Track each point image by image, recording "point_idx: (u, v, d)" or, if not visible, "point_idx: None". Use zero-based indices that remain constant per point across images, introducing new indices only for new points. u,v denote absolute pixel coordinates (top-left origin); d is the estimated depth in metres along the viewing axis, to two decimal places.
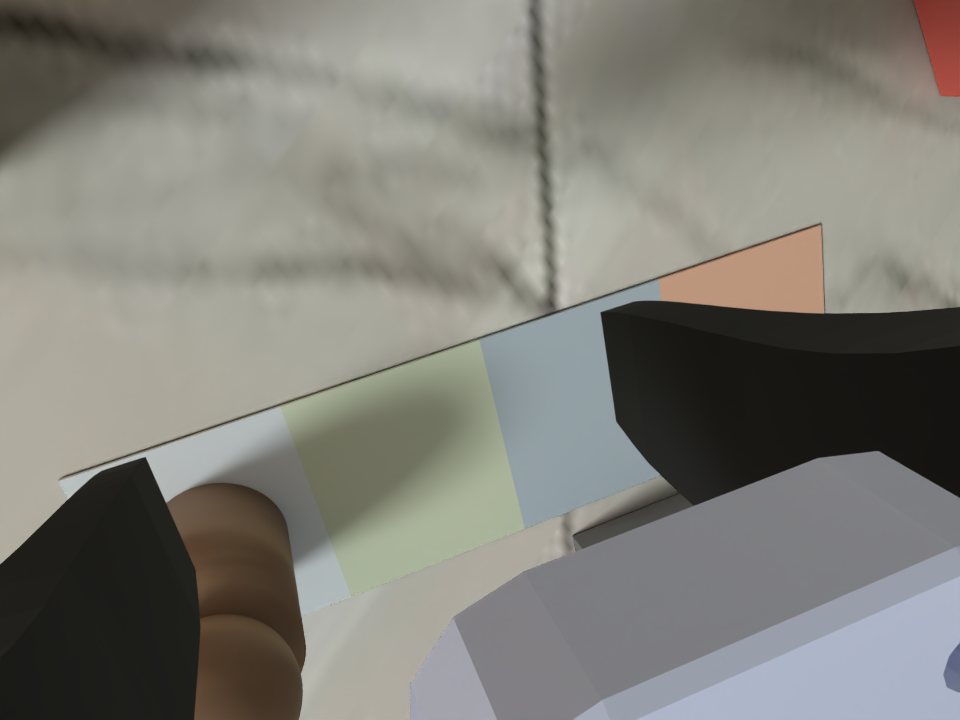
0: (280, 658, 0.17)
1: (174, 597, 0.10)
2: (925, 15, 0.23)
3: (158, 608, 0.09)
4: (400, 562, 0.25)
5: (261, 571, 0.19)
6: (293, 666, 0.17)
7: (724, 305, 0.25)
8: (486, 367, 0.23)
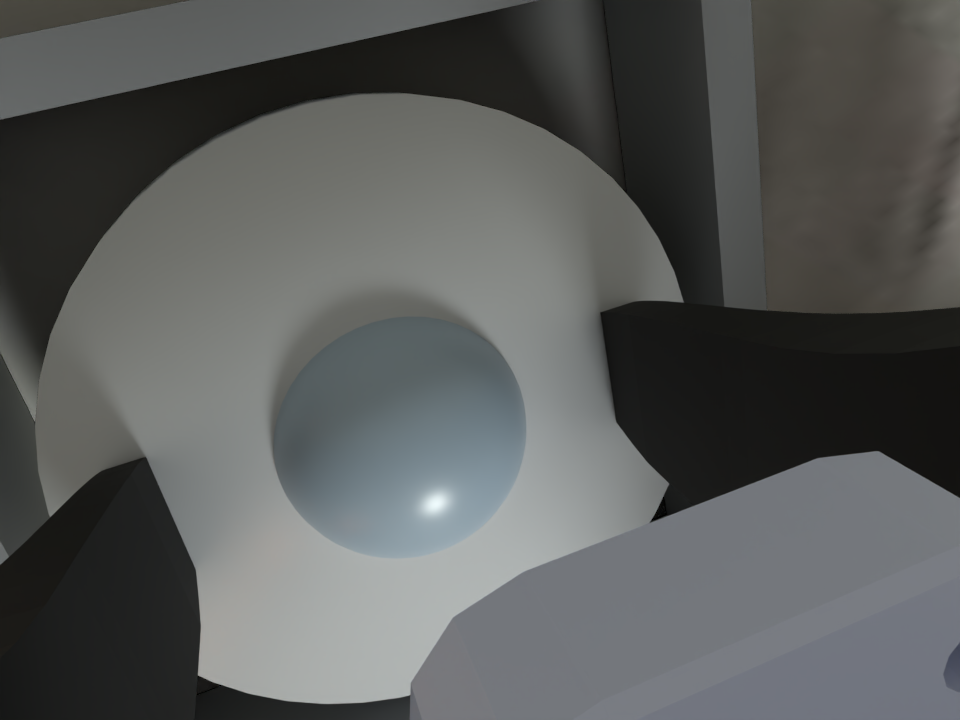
0: None
1: (174, 598, 0.10)
2: None
3: (158, 609, 0.09)
4: None
5: None
6: None
7: None
8: None
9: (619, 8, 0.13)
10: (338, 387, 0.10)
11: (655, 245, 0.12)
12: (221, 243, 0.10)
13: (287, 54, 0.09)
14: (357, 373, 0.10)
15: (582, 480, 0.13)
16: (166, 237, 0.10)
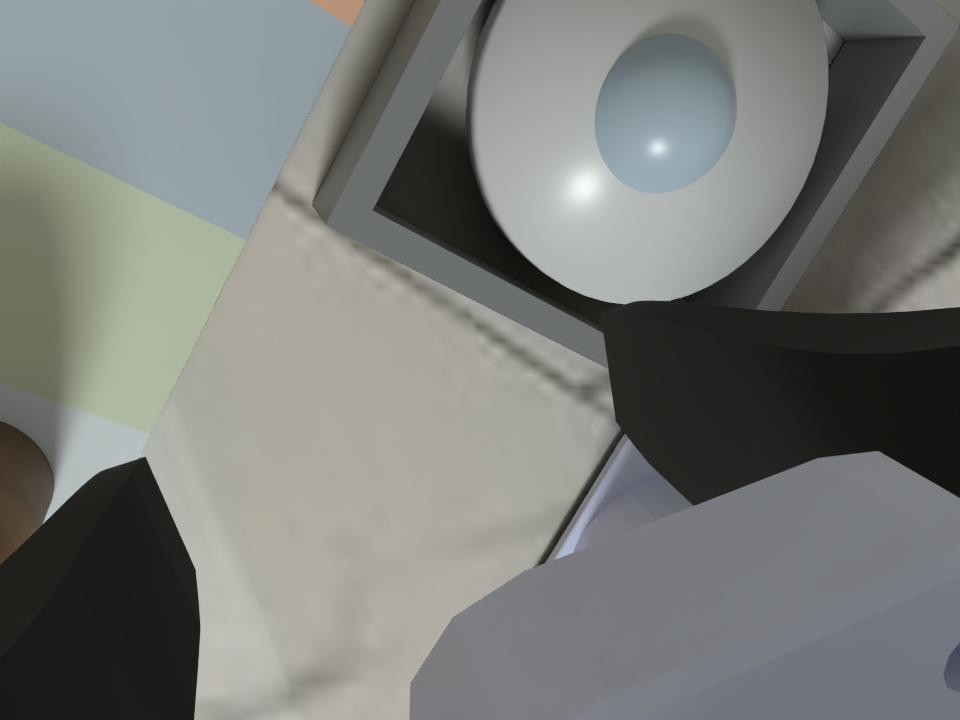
0: None
1: (174, 597, 0.10)
2: None
3: (157, 609, 0.09)
4: (158, 370, 0.21)
5: None
6: None
7: None
8: None
9: (852, 51, 0.23)
10: (688, 46, 0.19)
11: (816, 141, 0.21)
12: None
13: None
14: (701, 49, 0.19)
15: (700, 228, 0.21)
16: None
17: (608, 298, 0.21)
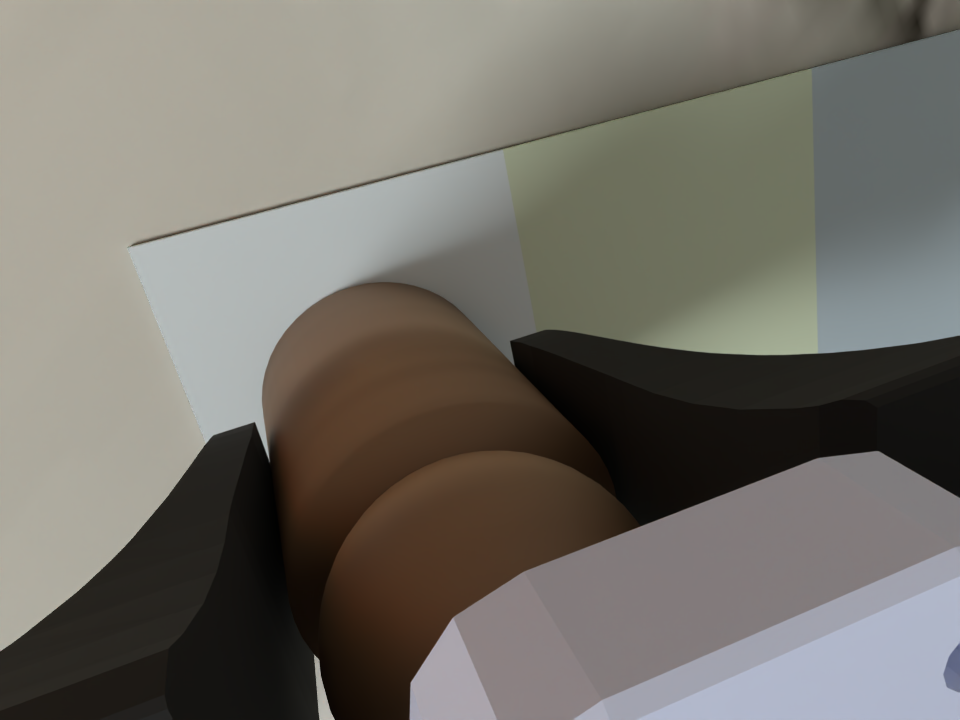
0: None
1: None
2: None
3: (282, 564, 0.10)
4: None
5: (536, 392, 0.10)
6: None
7: None
8: (813, 121, 0.14)
9: None
10: None
11: None
12: None
13: None
14: None
15: None
16: None
17: None
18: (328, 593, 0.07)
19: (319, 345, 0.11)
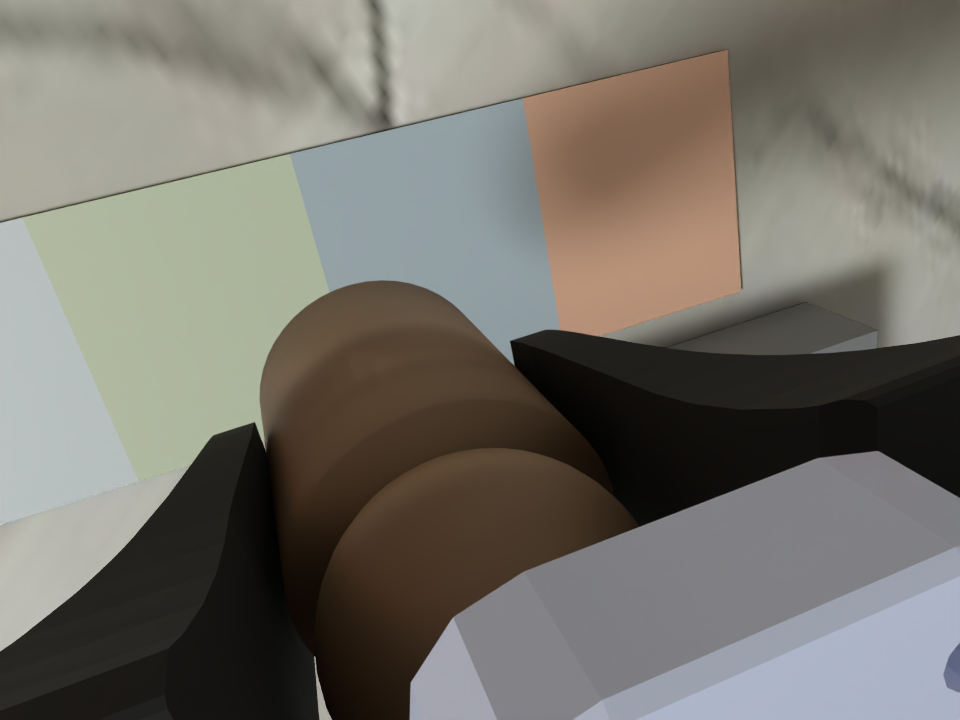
0: None
1: None
2: None
3: None
4: (202, 441, 0.20)
5: (533, 389, 0.10)
6: None
7: (608, 142, 0.21)
8: (300, 192, 0.19)
9: None
10: None
11: None
12: None
13: None
14: None
15: None
16: None
17: None
18: (324, 591, 0.07)
19: (316, 343, 0.11)
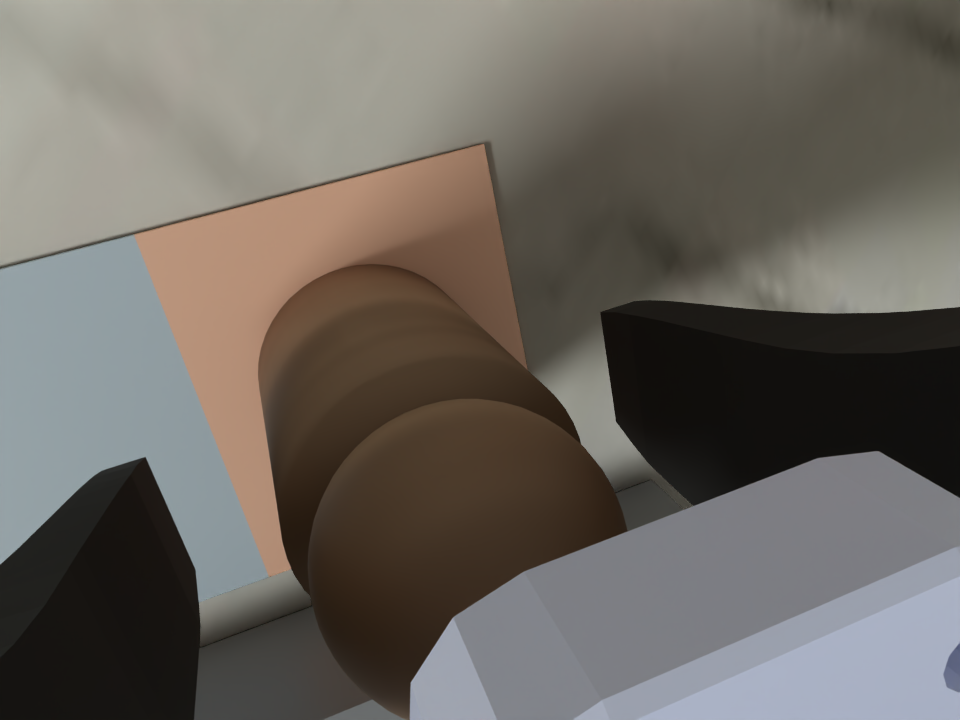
0: (602, 472, 0.09)
1: (174, 597, 0.10)
2: None
3: (158, 608, 0.09)
4: None
5: (508, 354, 0.10)
6: None
7: (299, 289, 0.13)
8: None
9: None
10: None
11: None
12: None
13: None
14: None
15: None
16: None
17: None
18: (316, 522, 0.08)
19: (310, 317, 0.12)
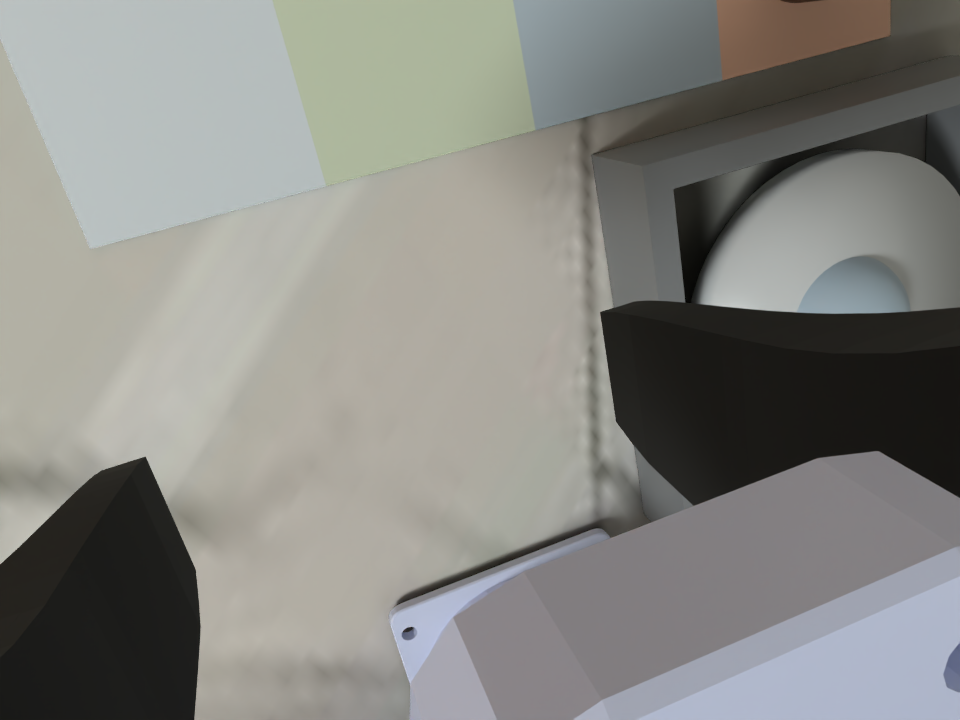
0: None
1: (174, 598, 0.10)
2: None
3: (158, 609, 0.09)
4: (386, 148, 0.20)
5: None
6: None
7: None
8: None
9: None
10: None
11: None
12: (943, 237, 0.24)
13: None
14: (908, 297, 0.23)
15: None
16: (950, 215, 0.24)
17: None
18: None
19: None
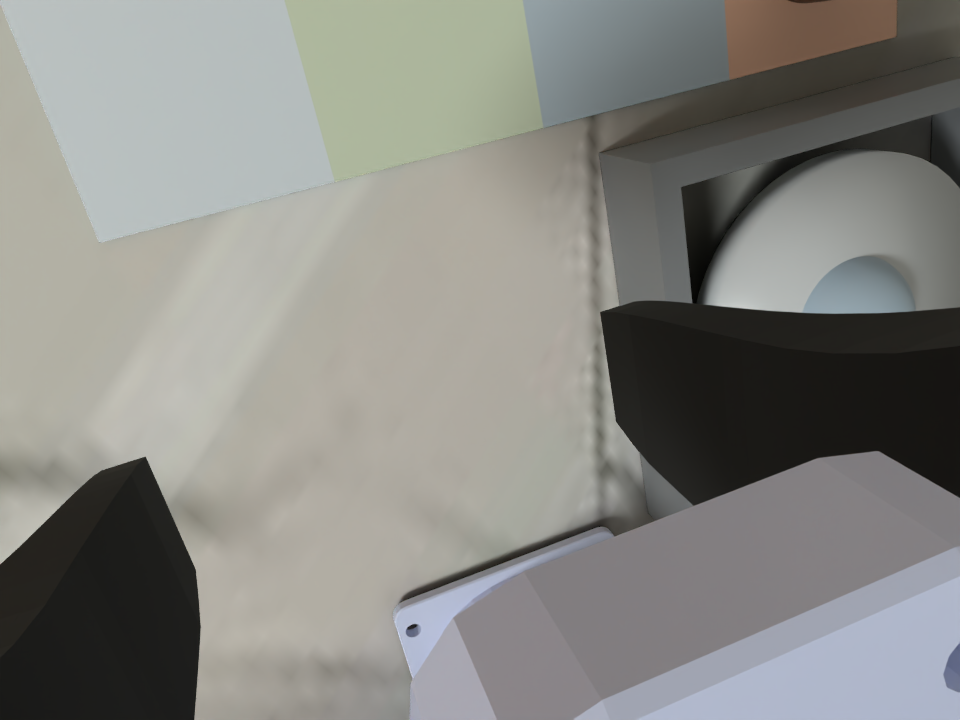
0: None
1: (174, 598, 0.10)
2: None
3: (158, 609, 0.09)
4: (395, 145, 0.20)
5: None
6: None
7: None
8: None
9: None
10: (909, 288, 0.23)
11: None
12: (948, 237, 0.24)
13: None
14: (913, 297, 0.23)
15: None
16: (955, 216, 0.24)
17: None
18: None
19: None
